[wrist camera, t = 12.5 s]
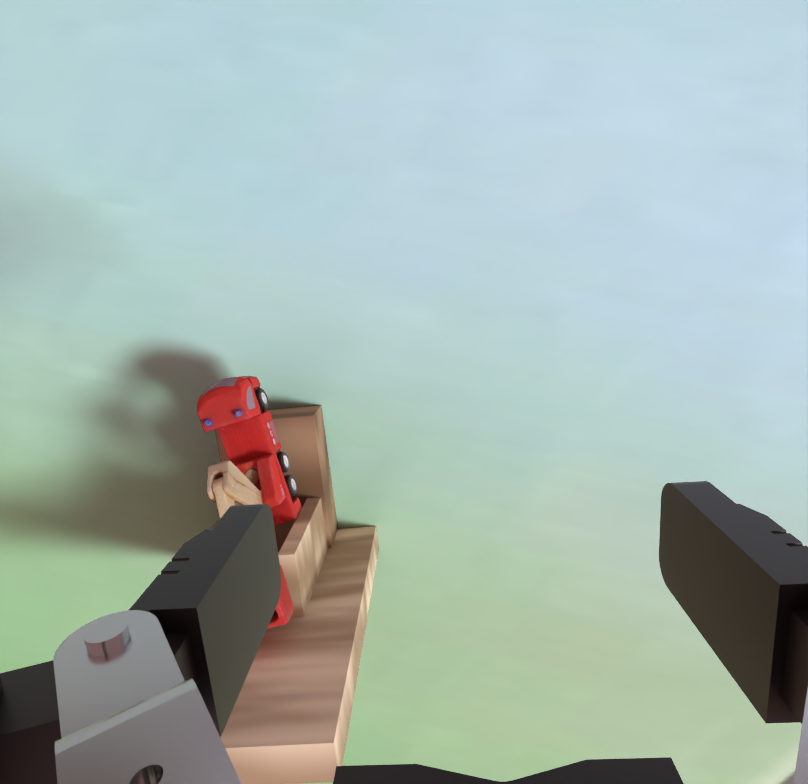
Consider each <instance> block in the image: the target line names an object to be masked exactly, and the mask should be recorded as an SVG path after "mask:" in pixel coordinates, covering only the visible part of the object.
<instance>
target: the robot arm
mask: <svg viewBox="0 0 808 784" xmlns="http://www.w3.org/2000/svg"><path fill="white" fill-rule="evenodd" d="M659 562H660V568H661V572H662V576H663V579H664V581H665V583H666V585H667V587H668V589H669V590H670V592H671V593H672V594H673V596H674V597H675V598H676V600H677V601H678V603H679V604H680V605H681V607H682V608H683V609H684V611H685V612H686V614H687V615H688V616H689V618H690V619H691V620H692V622H693V623H694V625H695V626H696V627H697V629H698V630H699V631H700V633H701V634H702V636H703V637H704V638H705V640H706V641H707V643H708V644H709V645H710V647H711V648H712V649H713V651H714V652H715V654H716V655H717V656H718V658H719V659H720V660H721V662H722V663H723V665H724V666H725V667H726V669H727V670H728V671H729V673H730V674H731V676H732V677H733V678H734V680H735V681H736V682H737V684H738V685H739V687H740V688H741V689H742V691H743V692H744V693H745V695H746V696H747V698H748V699H749V700H750V702H751V703H752V705H753V706H754V707H755V709H756V710H757V711H758V713H759V714H760V716H761V717H762V718H763V720H764V721H765V722H766V723H790V722H801V724H802V729H801V736H800V743H799V750H798V756H797V763H796V770H795V777H794V784H808V547H807V546H802V542H800V541H799V540H798V539H796V538H795V537H794V536H792V535H791V534H790V533H788V534H787V533H786V530H785V529H783V528H782V527H781V526H779V525H778V524H777V523H776V522H774V521H773V520H772V519H770V518H769V517H768V516H766V515H764V514H761V513H759V512H757V511H754V510H752V509H750V508H748V507H745V506H743V505H741V504H736V503H734V502H733V501H732V500H731V499H729V498H728V497H727V496H726V495H724V494H723V493H722V492H721V491H719V490H718V489H717V488H716V487H714V486H713V485H712V484H711V483H709V482H707V481H701V482H682V483H667V484H666V485H665V486H664V488H663V490H662V496H661V518H660V543H659ZM280 591H281V570H280V563H279V556H278V549H277V542H276V535H275V528H274V521H273V515H272V511H271V508H270V506H269V505H268V504H253V505H235V506H230V507H229V508H228V510H227V511H226V512H225V514H224V515H223V516H222V517H221V519H220V520H219V521H218V523H217V524H216V525H215V526H214V528H213V529H212V530H205V531H203V532H202V533H200V534H199V535H197V536H196V537H194V538H193V539H191V540H190V541H188V542H186V543H185V544H184V545H183V546H182V547H181V549H180V550H179V551H178V552H177V553H176V555H175V556H174V557H173V558H172V562H169V563H168V564H167V565H166V567H165V568H164V569H163V570H162V571H161V575H158V576H157V577H156V578H155V580H154V581H153V582H152V583H151V584H150V586H149V587H148V588H147V589H146V590H145V592H144V593H143V594H142V595H141V596H140V598H139V599H138V600H137V601H136V602H135V604H134V605H133V606H132V607H131V608H130V609H129V611H122V612H117V613H113V614H109V615H106V616H103V617H101V618H98V619H96V620H94V621H92V622H90V623H88V624H86V625H84V626H82V627H81V628H79V629H77V630H76V631H75V632H73V633H72V634H71V635H69V636H68V637H67V638H66V639H65V640H64V641H63V642H62V643H61V644H60V646H59V647H58V649H57V650H56V652H55V655H54V660H53V661H49V662H45V663H41V664H37V665H33V666H29V667H25V668H21V669H17V670H13V671H9V672H5V673H1V674H0V784H241V782H240V779H239V777H238V775H237V773H236V771H235V768H234V766H233V764H232V762H231V760H230V758H229V755H228V753H227V751H226V749H225V747H224V744H223V742H222V740H221V738H220V737H221V736H222V733H223V731H224V729H225V726H226V724H227V721H228V719H229V717H230V714H231V712H232V710H233V707H234V705H235V703H236V700H237V698H238V696H239V693H240V691H241V689H242V686H243V684H244V682H245V679H246V677H247V675H248V672H249V670H250V668H251V665H252V663H253V660H254V658H255V656H256V653H257V651H258V649H259V646H260V644H261V642H262V639H263V637H264V635H265V632H266V630H267V628H268V625H269V623H270V621H271V618H272V616H273V614H274V611H275V609H276V607H277V604H278V601H279V597H280ZM333 784H683V782H682V780H681V778H680V775H679V773H678V771H677V769H676V767H675V765H674V763H673V761H672V759H671V758H637V759H597V760H584V761H580V762H577V763H573V764H570V765H566V766H563V767H559V768H556V769H552V770H548V771H545V772H541V773H538V774H534V775H531V776H527V777H524V778H520V779H517V780H513V781H508V782H498V781H492V780H487V779H483V778H478V777H473V776H469V775H464V774H460V773H455V772H450V771H446V770H441V769H436V768H432V767H427V766H423V765H418V764H402V765H363V766H336V770H335V776H334V782H333Z"/></svg>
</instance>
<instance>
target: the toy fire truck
mask: <svg viewBox="0 0 808 784" xmlns="http://www.w3.org/2000/svg"><path fill="white" fill-rule="evenodd" d="M267 407H268V398H267V395H266V393H265V391H264V390H263V389H261V388H260V382H259V380H258V378H257V377H252V376H242V377H233V378H226V379H222V380H220V381H217V382H216V383H214V384H212V385H211V386H210V387H208V388H207V389H206V390H205V391H204V393H203V394H202V395H201V396H200V398H199V400H198V403H197V412H198V415H199V418H200V421H201V424H202V427H203V430H204V431H206V432H208V431H211V430H214V429H218V430H219V433H220V436H221V440H222V442H223V445H224V447H225V450H226V454H227V456H228V459H229V460H228V461H224V462H221V463H217V464H214V465H211V466H209V467H208V478H207V493H208V496H209V498H210V499H211V500H213V501H214V502H216V503H217V508H218V512H219V517H220V519H221V517H222V516H223V515H224V514H225V512H226V511H227V510H228V508H229V507H230V506H235V505H253V504H268V505H269V506H270V508H271V511H272V515H273V521H274V526H275V525H278V524H282V523H285V522H289V521H292V520H295V519H297V516H298V515H299V513H300V512H301V510H302V506H301V503H300V500H299V498H298V497H295V498H291V497H292V496H294V495H295V494H296V493H297V484H296V481H295V478H294V477H293V476H292V475H288V474H287V475H285V476H284V475H283V473H286V472H287V471H289V469H290V464H289V459H288V456H287V455H286V453H285V452H281V451H280V448H281V443H280V440H279V437H278V434H277V431H276V429H275V425H274V422H273V420H272V417H271V414H270V411H267ZM261 410H262V411H261ZM276 451H279V452H277V453H276ZM280 570H281V591H280V597H279V601H278V604H277V607H276V609H275V611H274V614H273V616H272V618H271V621H270V623H269V625H268V628H272V627H275V626H279V625H284V624H286V623H287V622H288V621H289V619H290V617H291V616H292V613H293V611H294V609H295V608H294V606H293V603H292V599H291V596H290V592H289V589H288V585H287V582H286V578H285V576H284V572H283V569H282V566H281V565H280ZM268 628H267V629H268Z"/></svg>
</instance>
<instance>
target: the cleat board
mask: <svg viewBox="0 0 808 784" xmlns="http://www.w3.org/2000/svg"><path fill="white" fill-rule="evenodd" d="M261 411H262V410H261ZM267 411H270V414H271V417H272V420H273V422H274V425H275V429H276V431H277V434H278V437H279V440H280V443H281V448H280V451H281V452H285V453H286V455H287V456H288V459H289V464H290V469H289V471H287V472H286V473H283V475H284V476H285V475H287V474H288V475H292V476H293V477H294V478H295V481H296V484H297V493H296V494H295V495H294V496H292V497H291V498H295V497H298V498H299V500H300V503H301V506H302V510H301V512H300V513H299V515H298V516H297V519H295V520H292V521H289V522H285V523H282V524H278V525H275V526H274V528H275V535H276V542H277V549H278V556H279V563H280V565H281V566H282V569H283V572H284V576H285V578H286V582H287V585H288V589H289V592H290V596H291V599H292V603H293V606H294V608H295V609H294V611H293V613H292V616H291V617H290V619H289V621H288V622H287V623H286V624H284V625H279V626H275V627H272V628H268V629H267V630H266V632H265V635H264V637H263V639H262V642H261V644H260V646H259V649H258V651H257V653H256V656H255V658H254V660H253V663H252V665H251V668H250V670H249V672H248V675H247V677H246V679H245V682H244V684H243V686H242V689H241V691H240V693H239V696H238V698H237V700H236V703H235V705H234V707H233V710H232V712H231V714H230V717H229V719H228V721H227V724H226V726H225V729H224V731H223V733H222V736H221V737H220V738H221V740H222V742H223V744H224V747H225V749H226V751H227V753H228V755H229V758H230V760H231V762H232V764H233V766H234V768H235V771H236V773H237V775H238V777H239V779H240V782H241V784H297V783H319V782H334V776H335V770H336V766H342V763H343V757H344V751H345V746H346V740H347V734H348V728H349V722H350V716H351V710H352V704H353V698H354V692H355V686H356V681H357V675H358V669H359V663H360V657H361V651H362V645H363V639H364V633H365V627H366V621H367V616H368V610H369V604H370V598H371V592H372V586H373V580H374V574H375V568H376V562H377V556H378V551H379V548H378V540H377V531H376V526H372V527H358V528H344V529H338V527H337V519H336V512H335V504H334V497H333V489H332V482H331V475H330V467H329V460H328V452H327V445H326V437H325V430H324V423H323V415H322V408H321V405H318V406H306V407H295V408H283V409H272V410H267ZM215 432H216V438H217V443H218V449H219V455H220V460H221V462H224V461H228V460H229V459H228V456H227V454H226V450H225V447H224V445H223V442H222V440H221V436H220V433H219V430H218V429H215ZM277 452H279V451H276V453H277ZM219 520H220V519H219ZM219 520H218V521H219ZM218 521H217V523H218ZM217 523H216V524H217ZM216 524H215V525H216ZM215 525H214V526H215ZM214 526H213V527H212V529H213V528H214ZM212 529H211V530H212Z"/></svg>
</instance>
